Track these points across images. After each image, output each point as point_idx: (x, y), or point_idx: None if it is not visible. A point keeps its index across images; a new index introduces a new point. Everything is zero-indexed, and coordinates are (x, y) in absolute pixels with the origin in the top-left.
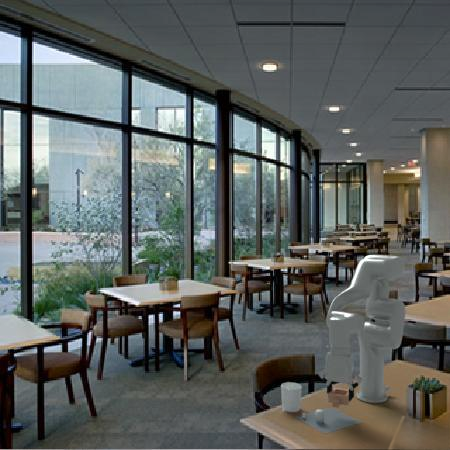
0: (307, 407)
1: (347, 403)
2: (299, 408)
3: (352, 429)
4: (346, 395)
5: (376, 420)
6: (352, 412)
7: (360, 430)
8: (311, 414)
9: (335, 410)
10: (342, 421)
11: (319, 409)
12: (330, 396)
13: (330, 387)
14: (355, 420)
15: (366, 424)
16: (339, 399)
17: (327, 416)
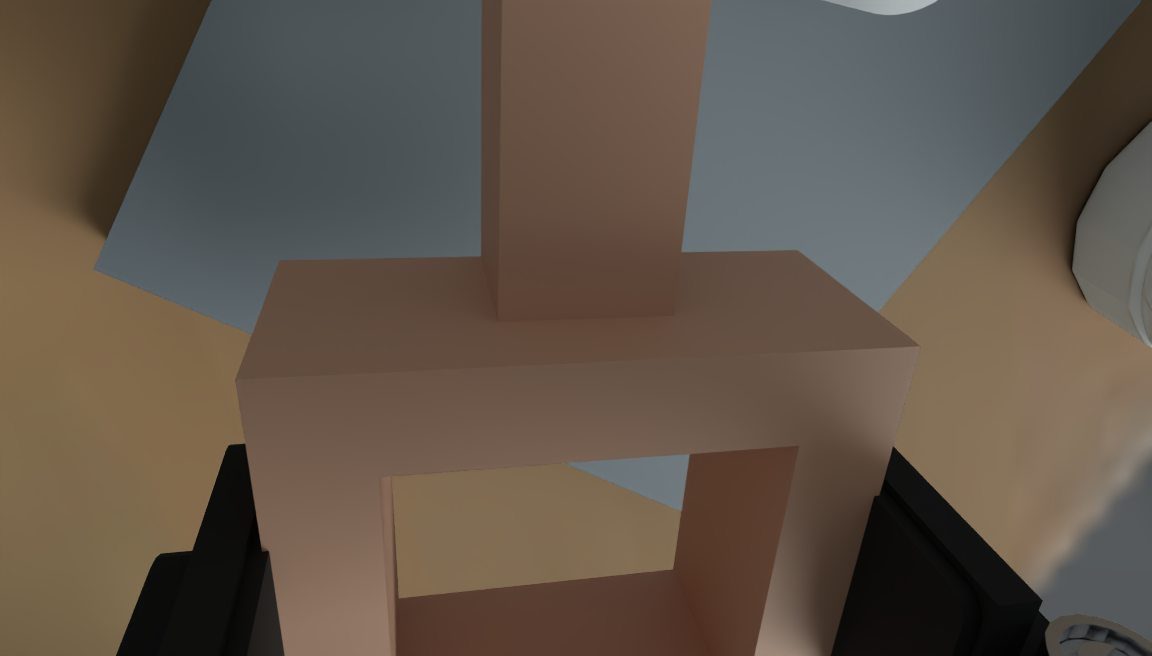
0: (970, 429)
1: (272, 283)
2: (1134, 235)
3: (193, 9)
4: (330, 501)
5: (17, 520)
6: (417, 572)
7: (43, 36)
8: (943, 163)
9: (623, 464)
10: (419, 135)
11: (922, 3)
12: (819, 317)
13: (937, 627)
14: (231, 285)
15: (76, 326)
16: (515, 252)
17: (698, 211)
